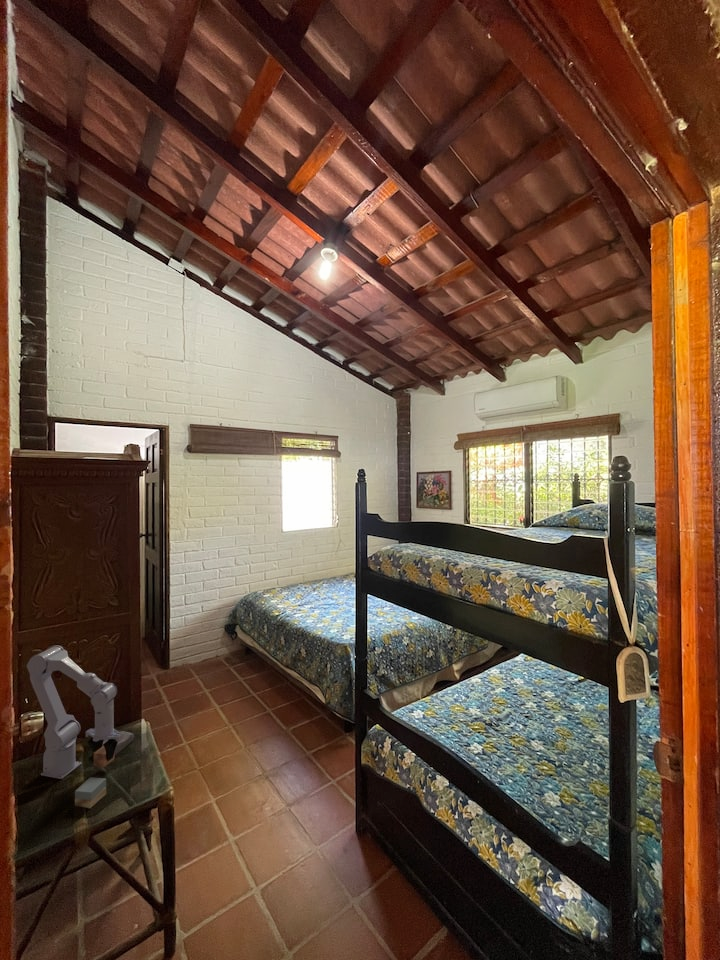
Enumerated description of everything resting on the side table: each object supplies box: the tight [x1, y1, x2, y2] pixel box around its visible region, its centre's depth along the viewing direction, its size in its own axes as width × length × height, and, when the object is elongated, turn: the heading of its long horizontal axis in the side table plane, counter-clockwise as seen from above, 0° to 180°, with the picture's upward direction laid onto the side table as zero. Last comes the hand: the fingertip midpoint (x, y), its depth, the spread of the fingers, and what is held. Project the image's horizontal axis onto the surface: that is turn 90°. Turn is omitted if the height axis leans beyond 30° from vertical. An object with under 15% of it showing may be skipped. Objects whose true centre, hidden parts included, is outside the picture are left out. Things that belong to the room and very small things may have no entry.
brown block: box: [74, 786, 107, 809], centre depth 127 cm, size 6×6×2 cm
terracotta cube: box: [93, 746, 116, 768], centre depth 141 cm, size 4×4×4 cm
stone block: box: [103, 730, 135, 756], centre depth 153 cm, size 12×5×10 cm
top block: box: [74, 776, 107, 800], centre depth 128 cm, size 6×6×2 cm
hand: (104, 758), depth 141 cm, fingers closed on terracotta cube, 4 cm apart
